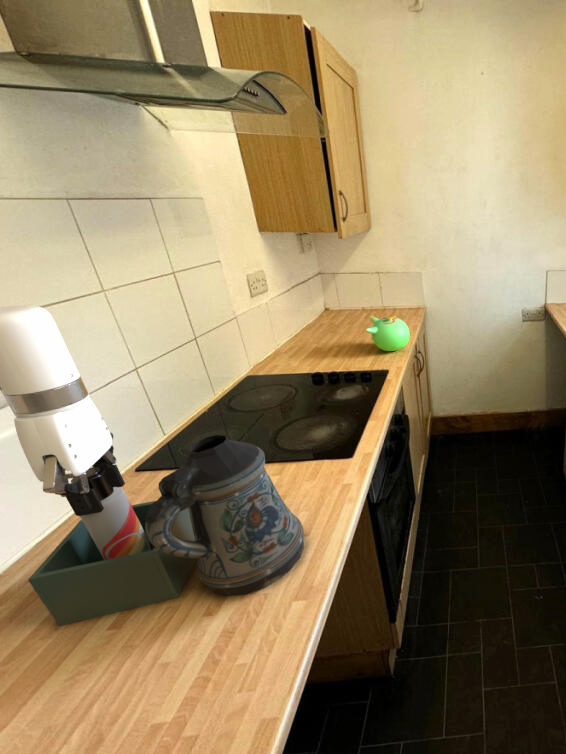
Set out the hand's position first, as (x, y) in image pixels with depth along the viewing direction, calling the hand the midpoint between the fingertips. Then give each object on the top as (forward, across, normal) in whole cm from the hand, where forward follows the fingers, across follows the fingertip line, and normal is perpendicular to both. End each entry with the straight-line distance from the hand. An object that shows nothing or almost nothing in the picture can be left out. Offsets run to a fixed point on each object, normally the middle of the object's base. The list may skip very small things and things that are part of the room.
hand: (101, 498), depth 65 cm
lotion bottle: (+15, 0, 0) cm, 15 cm away
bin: (+17, 0, 0) cm, 17 cm away
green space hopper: (+17, -109, +49) cm, 120 cm away
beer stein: (+17, +4, +18) cm, 25 cm away
